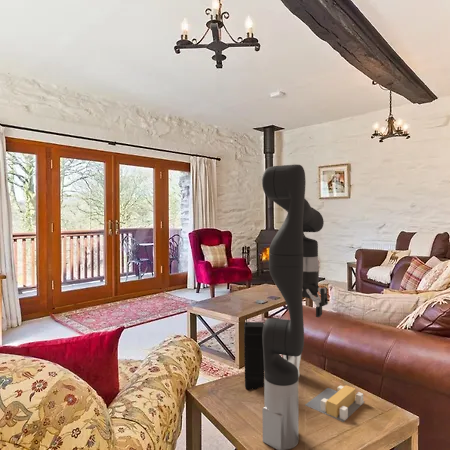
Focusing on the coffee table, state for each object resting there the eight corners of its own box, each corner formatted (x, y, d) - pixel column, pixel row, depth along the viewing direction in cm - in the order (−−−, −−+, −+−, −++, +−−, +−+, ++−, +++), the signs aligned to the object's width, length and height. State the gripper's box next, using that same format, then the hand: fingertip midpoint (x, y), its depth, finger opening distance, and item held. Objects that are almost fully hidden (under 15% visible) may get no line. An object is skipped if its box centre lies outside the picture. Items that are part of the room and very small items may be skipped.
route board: (343, 425, 102) (343, 412, 102) (304, 408, 111) (304, 395, 111) (364, 404, 113) (364, 392, 113) (327, 390, 122) (327, 379, 122)
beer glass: (294, 371, 136) (294, 333, 136) (305, 379, 130) (305, 339, 129) (279, 375, 134) (278, 336, 133) (289, 383, 127) (289, 342, 127)
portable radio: (266, 381, 129) (266, 314, 128) (267, 390, 123) (266, 319, 122) (245, 380, 129) (244, 314, 128) (244, 389, 124) (244, 319, 122)
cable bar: (336, 417, 104) (336, 404, 104) (326, 413, 107) (326, 400, 106) (355, 400, 114) (355, 388, 113) (346, 396, 116) (346, 385, 116)
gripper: (284, 268, 125) (284, 312, 126) (320, 272, 115) (320, 321, 116) (296, 265, 131) (296, 308, 131) (331, 269, 121) (331, 316, 121)
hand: (307, 314), depth 124 cm, fingers open, 8 cm apart
